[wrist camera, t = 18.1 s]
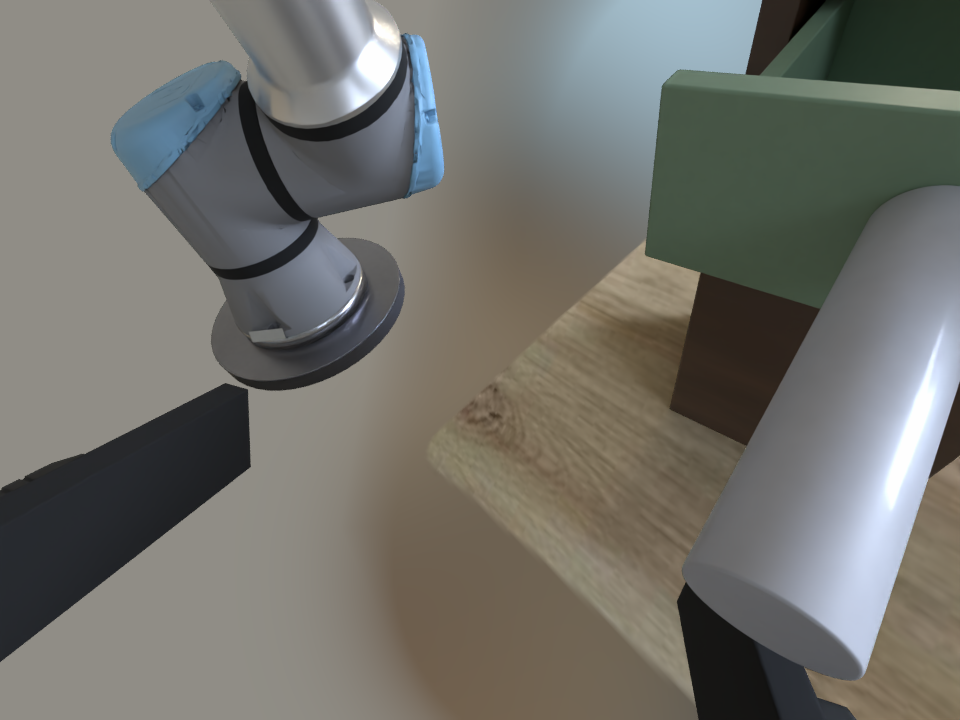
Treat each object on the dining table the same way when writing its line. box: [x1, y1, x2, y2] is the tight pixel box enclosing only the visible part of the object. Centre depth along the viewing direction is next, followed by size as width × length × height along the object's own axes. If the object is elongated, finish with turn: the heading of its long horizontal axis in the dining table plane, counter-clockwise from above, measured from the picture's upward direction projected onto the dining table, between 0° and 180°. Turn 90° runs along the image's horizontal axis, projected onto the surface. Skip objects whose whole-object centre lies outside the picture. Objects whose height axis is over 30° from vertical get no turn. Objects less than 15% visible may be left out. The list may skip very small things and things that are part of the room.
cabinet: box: [670, 0, 960, 479], centre depth 24 cm, size 12×14×29 cm
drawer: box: [645, 0, 960, 681], centre depth 11 cm, size 22×14×6 cm, turn 140°
